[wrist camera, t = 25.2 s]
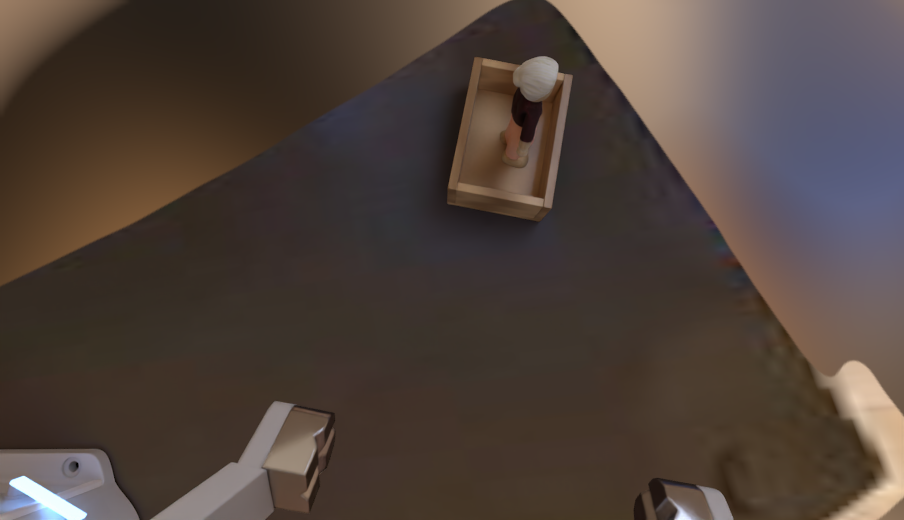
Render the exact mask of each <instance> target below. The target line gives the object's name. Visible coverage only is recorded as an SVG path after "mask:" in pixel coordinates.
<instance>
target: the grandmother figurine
mask: <svg viewBox="0 0 904 520" xmlns="http://www.w3.org/2000/svg"><path fill="white" fill-rule="evenodd" d="M557 73H558V64H557V63H556V61H554V60H553V59H551V58H549V57H544V56H543V57H536V58H533V59H530V60H527V61H526V62H524V63H523V64H522V65H521V66H520V67H518V68H517V69H516V70H515V71H514V73H513V83H514V85H515V86H516V87H518V88H517V90H516V92H515V94H514V96H513V102H512V108H511V118H510V122H509V124H508V126H507V129H506V130H503V131H502V132H501V133H500V140H501V142H502V143H503V144H507V147H506V150H505V151H504V152H503V153H502V161H503V162H504V163H506V164H508V165H511V166H513V167H516V168H523V167H525V166H526V165H527V163H528V159H529V157H528V148H529V147H530V146H531V145H532V143H533V142H534V138H535V134H536V129H537V124H538V121H539V118H540V116H541V115H542V101H543V100H545V99H546V98H547V97H548V96H549V95H550V94H551V92H552V90H553V87H554V85H555V82H556V80H557Z"/></svg>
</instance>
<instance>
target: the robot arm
mask: <svg viewBox="0 0 904 520" xmlns="http://www.w3.org/2000/svg"><path fill="white" fill-rule="evenodd" d="M334 422H335V413H333V412H328V411H323V410H318V409H313V408H308V407H303V406H298V405H295V404H290V403H284V402H279V401H274V403H273V404H272V405H271V406H270V407H269V408H268V410H267V412H266V414H265V415H264V417H263V419H262V421H261V422H260V424H259V426H258V428H257V429H256V431H255V433H254V435H253V437H252V438H251V440H250V442H249V444H248V445H247V447H246V449H245V451H244V452H243V454H242V456H241V458H240V459H239V461H238V463H232V462H231V463H230V464H228V465H227V466H225V467H224V468H223V469H221V470H220V471H218V472H217V473H215V474H214V475H213V476H211V477H210V478H208V479H207V480H206V481H204V482H203V483H201V484H200V485H198V486H197V487H196V488H194V489H193V490H191V491H190V492H189V493H187V494H186V495H184V496H183V497H181V498H180V499H179V500H177V501H176V502H174V503H173V504H172V505H170V506H169V507H167V508H166V509H164V510H163V511H162V512H160V513H159V514H157V515H156V516H155V517H153V518H152V519H150V520H265V519H266V518H267V517H268V516H269V515H270V514H271V513H272V512H273V511H274V508H278V509H283V510H289V511H295V512H300V513H306V514H309V513H310V510H311V508H312V505H313V503H314V500H315V497H316V495H317V492H318V490H319V487H320V479H319V474H320V473H321V472H322V471H324V470H325V469H326V468H327V466H328V463H329V460H330V458H331V454H332V451H333V447H334V442H335V430H334V429H333V428H332V427H333V425H334ZM76 462H78V464H79V468H77V467H76ZM648 485H649V489H650V490H647V491H644V492H641V493H640V494H639V496H638V497H637V498H636V500H635V506H634V520H734V519H733V517H732V514H731V512H730V510H729V507H728V505H727V502H726V500H725V498H724V496H723V495H722V493H721V492H720V491H718V490H716V489H713V488H708V487H703V486H698V485H694V484H689V483H683V482H678V481H672V480H667V479H661V478H654V479H652V480H651V481H650V482H649V483H648ZM0 520H140V519H139V517H138V515H137V512H136V510H135V509H134V507H133V505H132V504H131V503H130V501H129V500H128V499H127V497H126V496H125V495H124V494H123V493H122V491H121V490H120V489H119V487H118V486H117V484H116V482H115V480H114V475H113V471H112V467H111V464H110V461H109V458H108V456H107V455H106V453H105V452H103V451H102V450H99V449H3V450H0Z"/></svg>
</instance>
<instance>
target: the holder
mask: <svg viewBox="0 0 904 520" xmlns="http://www.w3.org/2000/svg"><path fill="white" fill-rule="evenodd" d="M520 66H521V65H516V64H510V63H505V62H500V61H495V60H489V59H483V58H479V57H475V58H474V63H473V68H472V73H471V78H470V83H469V87H468V92H467V97H466V102H465V107H464V112H463V116H462V121H461V126H460V131H459V136H458V141H457V145H456V150H455V155H454V160H453V165H452V170H451V174H450V179H449V184H448V194H447V204H451V205H456V206H462V207H467V208H472V209H477V210H482V211H487V212H492V213H497V214H503V215H508V216H513V217H518V218H523V219H528V220H533V221H539V222H540V221H541V220H542V219H543V217H544V216H545V215H546V214H547V213H548V212H549V211H550V210H551V208H552V203H553V196H554V190H555V184H556V177H557V171H558V165H559V159H560V152H561V146H562V140H563V133H564V127H565V121H566V114H567V108H568V102H569V96H570V89H571V83H572V77H573V76H572V75H568V74H565V75H564V74H563V73H557V80H556V82H555V85H554V87H553V90H552V92H551V94H550V95H549V96H548V97H547V98H546V99H545V100H543V101H542V115H541V116H540V118H539V121H538V124H537V129H536V134H535V138H534V142H533V143H532V145H531V146H530V147H529V148H528V157H529V159H528V163H527V165H526V166H525V167H523V168H516V167H513V166H511V165H508V164H506V163H504V162H503V161H502V153H503V152H504V151H505V150H506V147H507V144H503V143H502V142H501V140H500V133H501V132H502V131H503V130H506V129H507V126H508V124H509V122H510V118H511V108H512V102H513V96H514V94H515V92H516V90H517V88H518V87H516V86H515V85H514V83H513V73H514V71H515V70H516V69H517V68H518V67H520Z"/></svg>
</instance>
